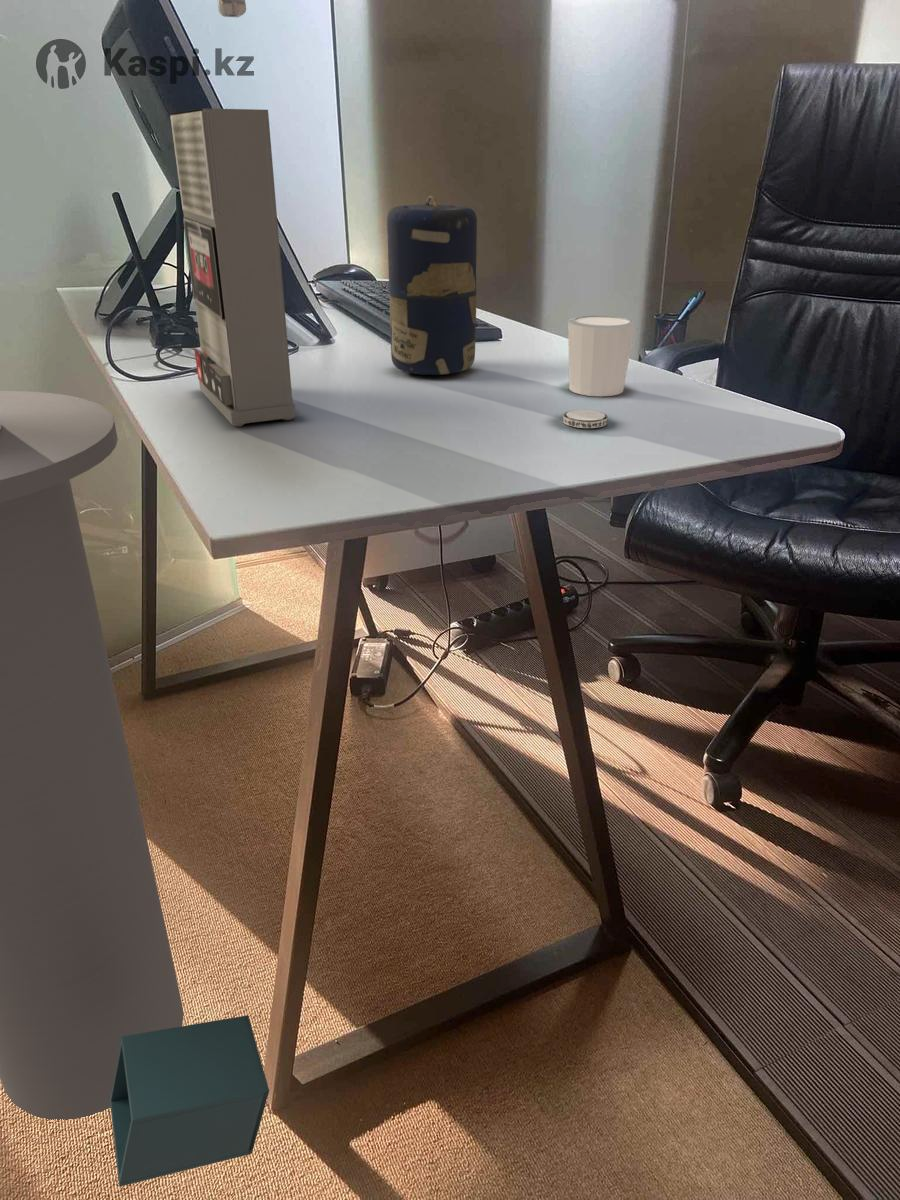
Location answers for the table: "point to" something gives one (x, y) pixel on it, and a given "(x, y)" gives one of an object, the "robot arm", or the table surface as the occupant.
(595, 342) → the cream cup
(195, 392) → the table surface
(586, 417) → the washi tape
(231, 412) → the beige tall upright block
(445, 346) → the canister
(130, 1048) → the dark green lidded box
